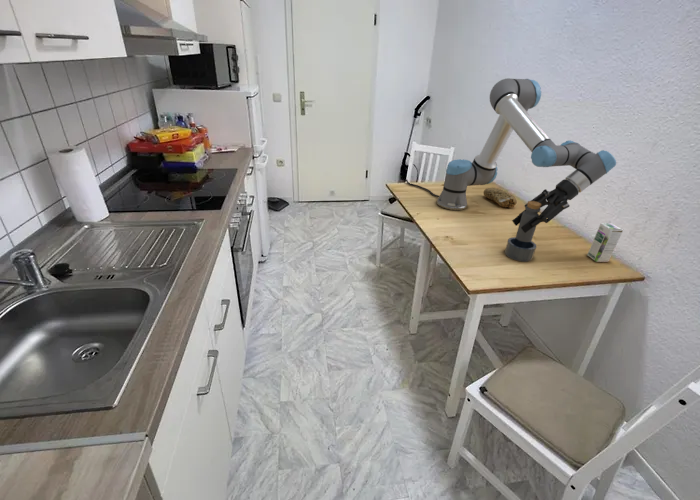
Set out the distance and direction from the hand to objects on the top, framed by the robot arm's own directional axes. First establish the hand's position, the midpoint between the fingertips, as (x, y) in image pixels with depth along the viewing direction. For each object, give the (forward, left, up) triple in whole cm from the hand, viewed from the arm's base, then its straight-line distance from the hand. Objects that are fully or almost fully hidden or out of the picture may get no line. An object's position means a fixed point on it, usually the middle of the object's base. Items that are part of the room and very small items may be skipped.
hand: (518, 226), depth 138 cm
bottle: (+2, +3, -6) cm, 7 cm away
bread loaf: (-29, +58, -13) cm, 66 cm away
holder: (+2, +3, -13) cm, 13 cm away
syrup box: (+26, +25, -13) cm, 38 cm away
